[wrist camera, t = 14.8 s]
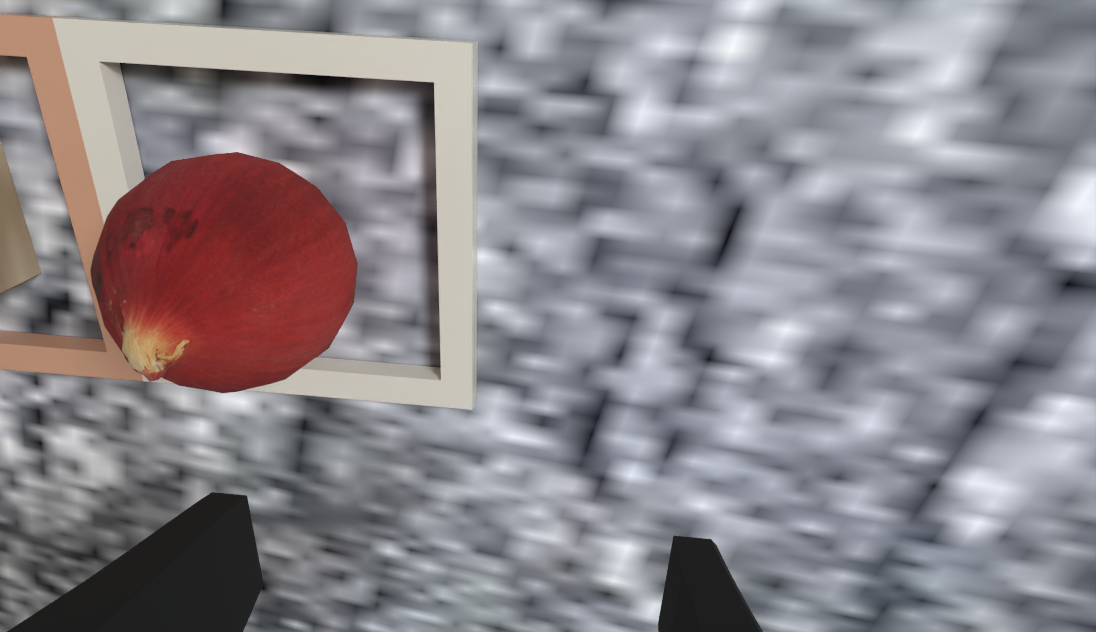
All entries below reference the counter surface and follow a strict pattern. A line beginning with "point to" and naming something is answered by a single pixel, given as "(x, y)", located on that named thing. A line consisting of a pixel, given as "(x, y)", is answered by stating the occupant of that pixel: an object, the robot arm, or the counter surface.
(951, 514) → the counter surface
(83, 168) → the terracotta frame
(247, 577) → the robot arm
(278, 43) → the cream frame
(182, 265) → the onion
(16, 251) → the birch block
